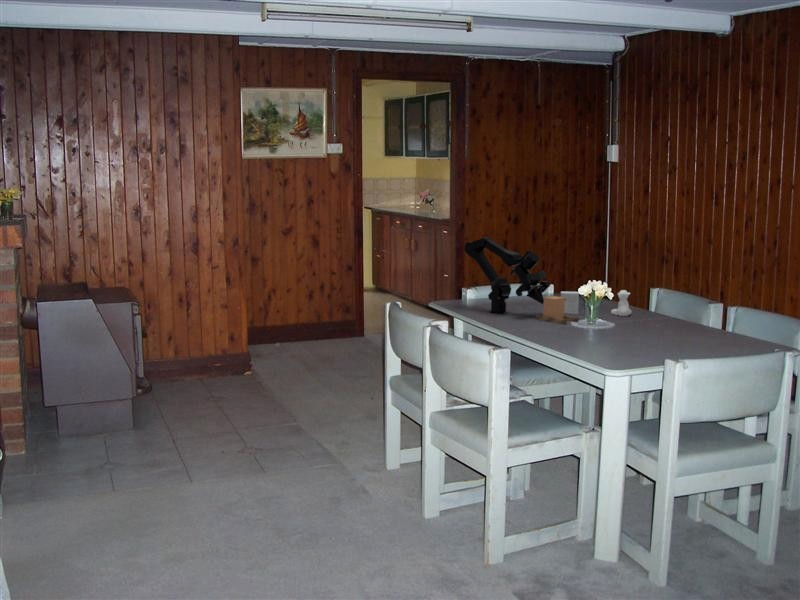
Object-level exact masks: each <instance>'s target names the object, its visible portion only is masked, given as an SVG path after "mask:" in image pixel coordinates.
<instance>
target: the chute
mask: <svg viewBox="0 0 800 600" xmlns="http://www.w3.org/2000/svg"><path fill="white" fill-rule="evenodd" d="M535 320H537V321H541V322H542V321H543V322H547V323H548V322H549V323H554V324H559V325H565V326H566V325H568V324H567V323H568V322H572V323H573V322H574V323H579V322H580V321H579V320H580V318H579V317H575V316H569V315H565V314H564V320H563V319H557V318H551V317H546V316H543V315H540V314H539V315H538V314H536V315H535Z"/></svg>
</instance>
